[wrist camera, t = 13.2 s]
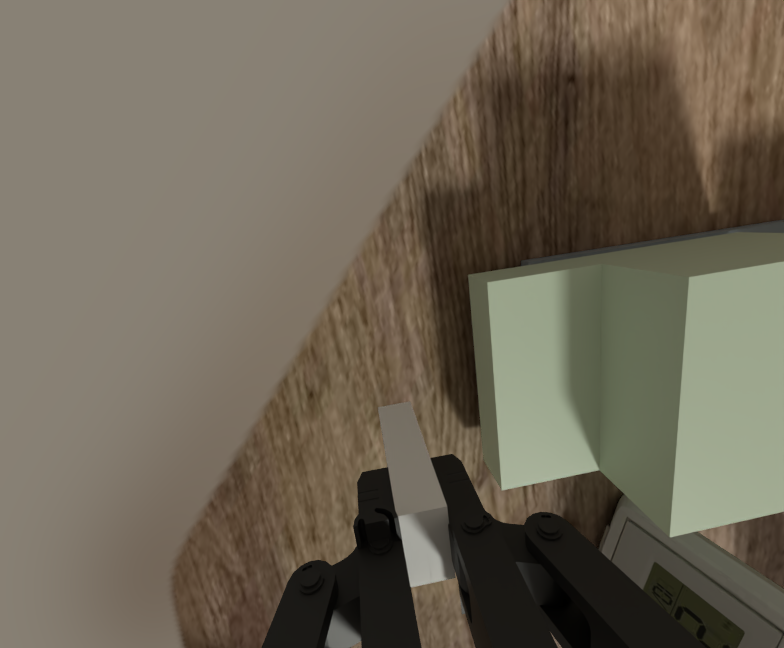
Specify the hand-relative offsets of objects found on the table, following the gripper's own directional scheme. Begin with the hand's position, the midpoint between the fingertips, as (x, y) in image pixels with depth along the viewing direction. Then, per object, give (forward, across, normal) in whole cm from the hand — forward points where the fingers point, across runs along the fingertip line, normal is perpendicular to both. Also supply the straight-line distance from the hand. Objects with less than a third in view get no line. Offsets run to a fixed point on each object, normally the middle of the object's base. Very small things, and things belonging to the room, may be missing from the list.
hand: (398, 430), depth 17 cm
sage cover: (+5, +14, 0) cm, 15 cm away
